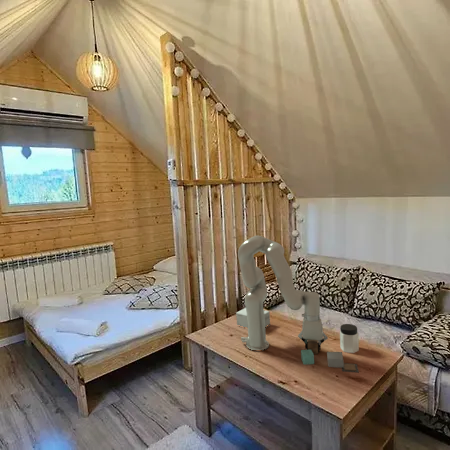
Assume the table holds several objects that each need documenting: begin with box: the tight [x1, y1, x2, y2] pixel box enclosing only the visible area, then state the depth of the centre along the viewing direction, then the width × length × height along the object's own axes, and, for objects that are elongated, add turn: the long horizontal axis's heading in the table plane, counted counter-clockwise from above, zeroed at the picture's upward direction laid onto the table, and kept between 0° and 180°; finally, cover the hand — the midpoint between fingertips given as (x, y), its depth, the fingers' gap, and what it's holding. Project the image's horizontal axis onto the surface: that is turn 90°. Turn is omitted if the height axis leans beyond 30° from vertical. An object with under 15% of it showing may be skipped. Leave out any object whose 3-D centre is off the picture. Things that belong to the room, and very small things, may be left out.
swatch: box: [341, 362, 360, 373], centre depth 152 cm, size 7×7×1 cm
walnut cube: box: [308, 340, 319, 355], centre depth 169 cm, size 5×5×5 cm
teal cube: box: [300, 349, 315, 365], centre depth 160 cm, size 5×5×5 cm
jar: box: [339, 323, 360, 354], centre depth 169 cm, size 9×8×12 cm
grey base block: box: [326, 351, 345, 368], centre depth 157 cm, size 7×7×4 cm
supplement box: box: [235, 307, 271, 328], centre depth 206 cm, size 17×13×9 cm
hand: (312, 350), depth 169 cm, fingers closed on walnut cube, 5 cm apart
